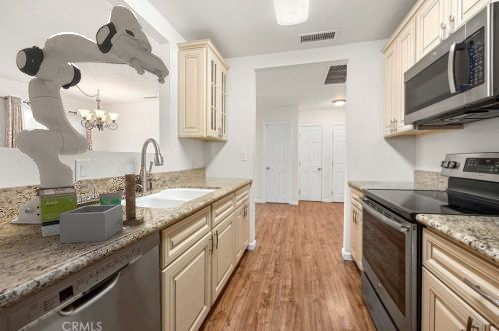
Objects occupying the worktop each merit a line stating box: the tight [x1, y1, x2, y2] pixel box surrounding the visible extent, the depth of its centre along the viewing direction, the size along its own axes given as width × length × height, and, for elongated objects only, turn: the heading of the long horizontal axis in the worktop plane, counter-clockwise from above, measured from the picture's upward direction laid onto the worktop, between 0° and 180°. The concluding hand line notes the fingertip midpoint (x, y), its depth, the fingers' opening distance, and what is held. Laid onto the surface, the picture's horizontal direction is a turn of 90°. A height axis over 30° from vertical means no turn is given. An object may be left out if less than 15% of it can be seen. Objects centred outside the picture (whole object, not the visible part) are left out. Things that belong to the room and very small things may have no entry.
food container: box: [98, 190, 124, 205], centre depth 110 cm, size 12×6×10 cm, turn 168°
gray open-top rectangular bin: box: [59, 204, 124, 244], centre depth 77 cm, size 13×13×9 cm
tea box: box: [39, 188, 78, 238], centre depth 83 cm, size 15×10×15 cm
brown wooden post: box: [123, 173, 145, 226], centre depth 90 cm, size 8×5×20 cm, turn 97°
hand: (152, 78), depth 78 cm, fingers open, 8 cm apart
